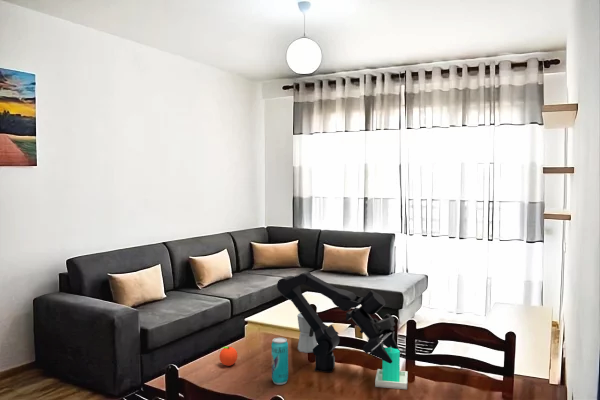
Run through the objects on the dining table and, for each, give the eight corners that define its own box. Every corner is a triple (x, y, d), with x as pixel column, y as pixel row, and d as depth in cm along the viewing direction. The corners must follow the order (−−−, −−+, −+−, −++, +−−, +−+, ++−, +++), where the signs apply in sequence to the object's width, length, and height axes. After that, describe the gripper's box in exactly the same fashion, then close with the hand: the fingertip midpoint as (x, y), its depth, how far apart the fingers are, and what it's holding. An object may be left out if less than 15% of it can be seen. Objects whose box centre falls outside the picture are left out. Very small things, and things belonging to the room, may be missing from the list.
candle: (396, 384, 165) (396, 350, 165) (379, 381, 168) (379, 346, 168) (402, 378, 170) (402, 344, 170) (386, 375, 174) (386, 342, 173)
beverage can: (268, 381, 170) (268, 339, 170) (282, 377, 174) (281, 336, 173) (278, 387, 166) (277, 343, 165) (291, 382, 169) (291, 340, 169)
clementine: (213, 366, 184) (213, 348, 184) (223, 360, 191) (222, 342, 190) (232, 369, 181) (231, 350, 181) (241, 363, 188) (240, 344, 187)
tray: (375, 386, 165) (375, 380, 165) (377, 374, 176) (377, 368, 176) (407, 389, 163) (407, 383, 163) (407, 376, 173) (407, 371, 173)
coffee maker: (294, 345, 207) (293, 303, 207) (314, 343, 210) (313, 302, 209) (302, 357, 193) (302, 312, 192) (323, 355, 195) (323, 311, 194)
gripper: (371, 315, 162) (404, 353, 157) (389, 302, 178) (419, 336, 174) (349, 335, 166) (380, 372, 161) (368, 320, 182) (397, 354, 178)
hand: (395, 358), depth 168 cm, fingers open, 9 cm apart
